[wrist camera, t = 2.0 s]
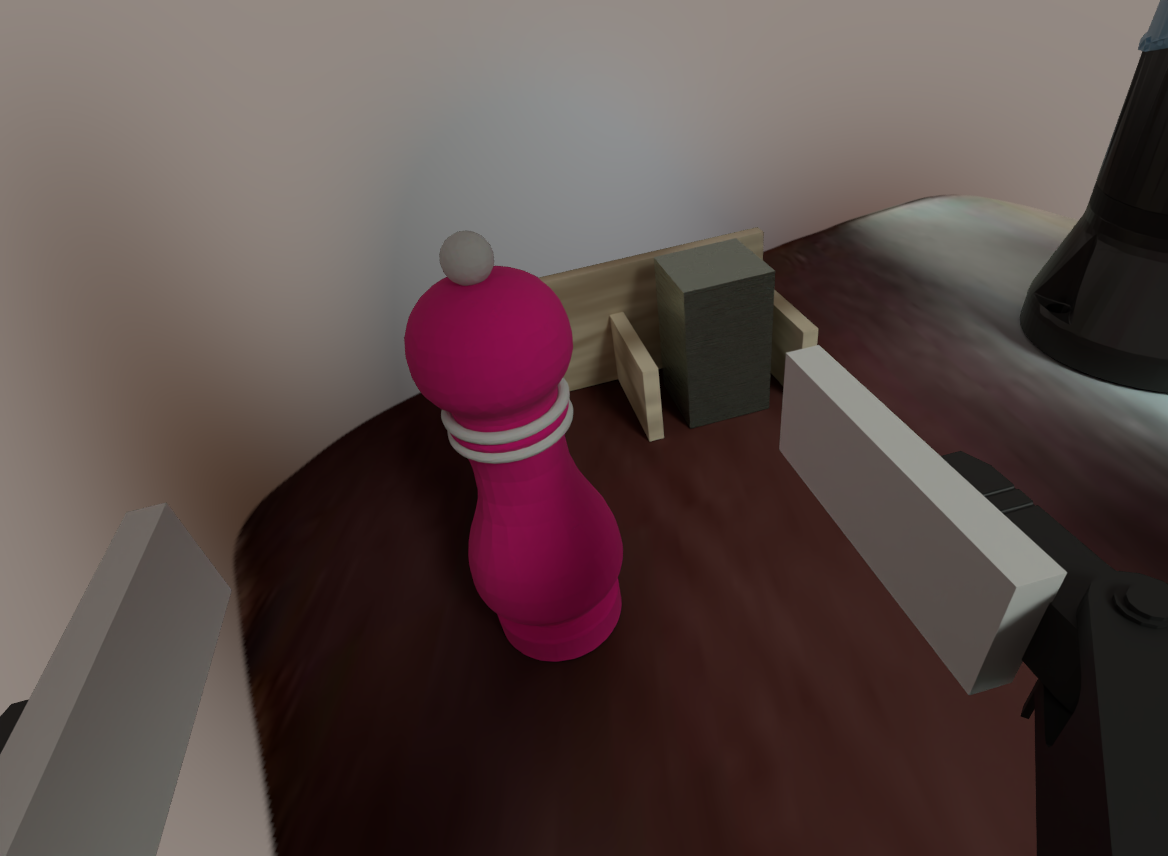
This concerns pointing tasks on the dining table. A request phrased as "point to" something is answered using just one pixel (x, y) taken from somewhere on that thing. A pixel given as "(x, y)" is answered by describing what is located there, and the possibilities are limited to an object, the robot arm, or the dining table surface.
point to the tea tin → (715, 330)
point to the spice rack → (646, 326)
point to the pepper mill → (517, 450)
